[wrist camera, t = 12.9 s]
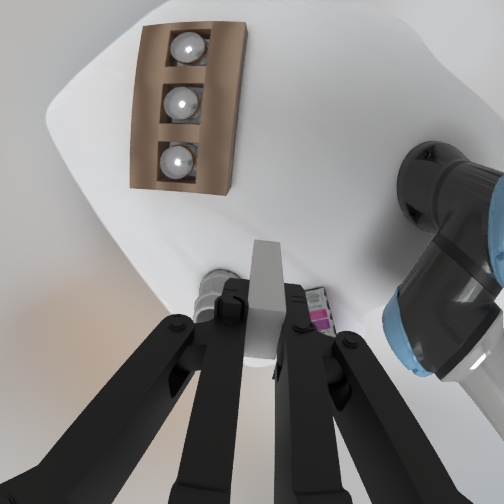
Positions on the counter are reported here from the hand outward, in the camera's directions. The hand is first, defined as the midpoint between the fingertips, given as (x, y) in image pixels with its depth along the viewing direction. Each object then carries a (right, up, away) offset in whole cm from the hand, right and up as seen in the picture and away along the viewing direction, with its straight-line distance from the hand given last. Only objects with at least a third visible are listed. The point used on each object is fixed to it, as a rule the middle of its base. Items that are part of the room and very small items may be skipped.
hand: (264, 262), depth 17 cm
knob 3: (-10, +14, +22) cm, 29 cm away
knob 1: (-9, +29, +16) cm, 34 cm away
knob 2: (-10, +22, +19) cm, 30 cm away
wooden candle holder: (-10, +22, +19) cm, 31 cm away
